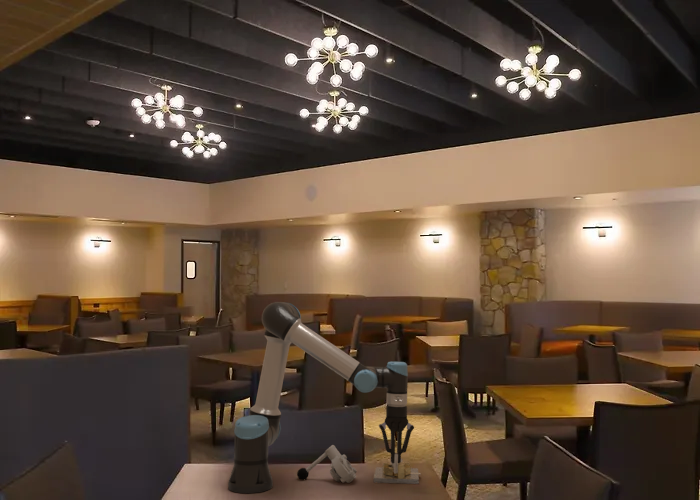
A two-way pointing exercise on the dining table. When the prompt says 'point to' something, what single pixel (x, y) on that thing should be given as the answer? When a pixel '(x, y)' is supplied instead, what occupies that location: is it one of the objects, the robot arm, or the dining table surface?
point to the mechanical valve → (333, 466)
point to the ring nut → (402, 469)
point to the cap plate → (408, 479)
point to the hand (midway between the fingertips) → (395, 472)
